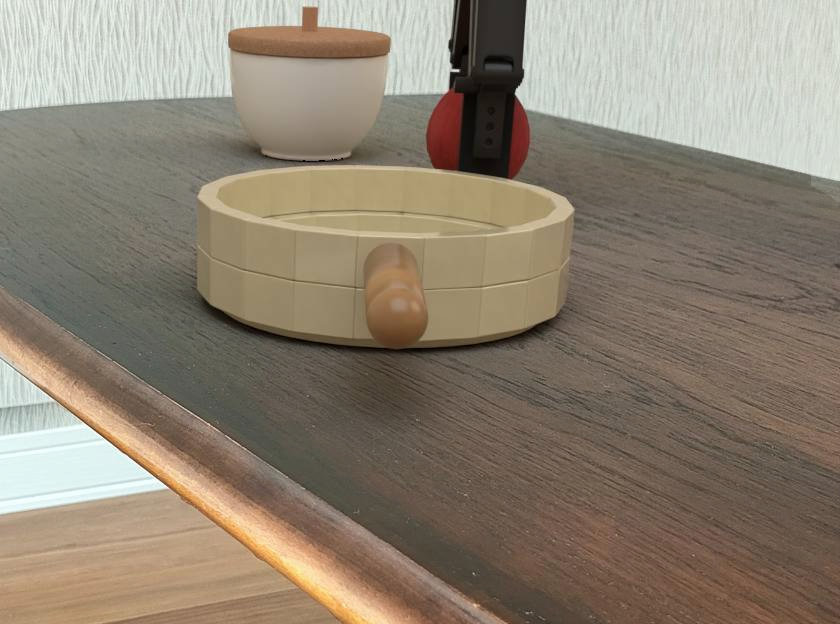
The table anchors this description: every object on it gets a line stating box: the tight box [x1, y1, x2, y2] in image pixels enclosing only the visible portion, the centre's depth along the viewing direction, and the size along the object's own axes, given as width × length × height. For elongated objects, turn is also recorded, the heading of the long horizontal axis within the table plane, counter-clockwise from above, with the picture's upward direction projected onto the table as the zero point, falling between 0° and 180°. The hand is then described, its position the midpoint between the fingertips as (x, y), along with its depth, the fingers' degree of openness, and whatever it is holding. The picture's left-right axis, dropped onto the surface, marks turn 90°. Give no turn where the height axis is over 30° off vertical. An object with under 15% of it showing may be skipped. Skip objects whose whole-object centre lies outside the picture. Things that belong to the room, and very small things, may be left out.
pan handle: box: [363, 243, 428, 350], centre depth 50 cm, size 2×9×2 cm, turn 178°
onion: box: [425, 87, 531, 180], centre depth 82 cm, size 6×6×8 cm
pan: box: [196, 164, 576, 349], centre depth 62 cm, size 16×16×4 cm
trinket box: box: [227, 5, 392, 162], centre depth 96 cm, size 11×11×9 cm
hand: (471, 200), depth 83 cm, fingers open, 9 cm apart
